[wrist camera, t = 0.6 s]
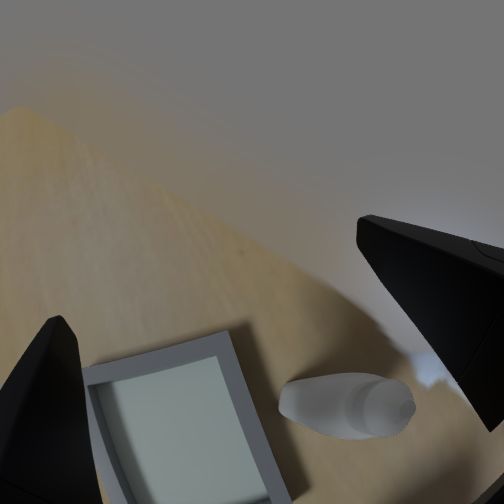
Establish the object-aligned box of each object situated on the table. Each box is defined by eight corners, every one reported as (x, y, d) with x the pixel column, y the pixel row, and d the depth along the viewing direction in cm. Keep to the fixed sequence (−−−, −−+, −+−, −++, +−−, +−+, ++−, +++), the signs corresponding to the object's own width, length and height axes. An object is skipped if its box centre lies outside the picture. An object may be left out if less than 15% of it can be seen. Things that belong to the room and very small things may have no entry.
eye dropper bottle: (329, 447, 18) (423, 489, 8) (266, 404, 20) (311, 420, 9) (364, 398, 20) (476, 392, 9) (305, 355, 21) (382, 315, 10)
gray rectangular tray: (290, 503, 17) (296, 512, 15) (140, 536, 14) (133, 546, 12) (227, 335, 22) (227, 329, 20) (80, 373, 19) (68, 371, 17)
